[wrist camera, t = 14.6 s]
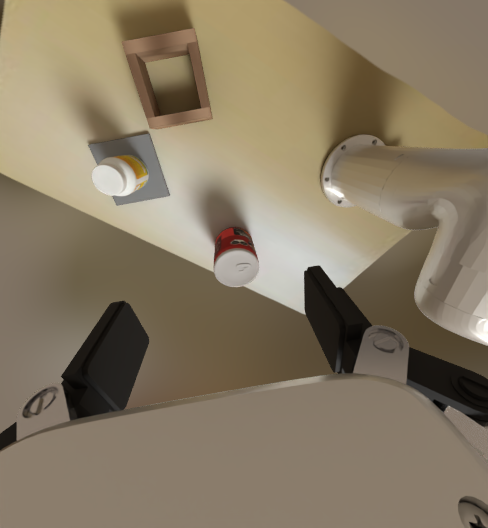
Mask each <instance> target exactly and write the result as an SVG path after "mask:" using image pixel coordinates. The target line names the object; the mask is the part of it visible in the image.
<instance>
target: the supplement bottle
mask: <svg viewBox="0 0 488 528" xmlns="http://www.w3.org/2000/svg"><path fill="white" fill-rule="evenodd" d="M148 178H149V173H148V169H147V167H146V166H145V164H144V163H143V162H142V161H141V160H140V159H139V158H137V157H135V156H132V155H122V156H116V157H109V158H105V159H103V160H102V161H101V162H100V163H99V164H98V166H96V167H95V168H94V169H93V171H92V181H93V183H94V185H95V186H96V188H97V189H98V190H99V191H101V192H102V193H104V194H106V195H110V196H114V195H116V196H127V195H129V194H131V193H133V192H135V191H136V190H138V189H140V188H142V187H143V186H144V185H145V184H146V183H147V181H148Z"/></svg>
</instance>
